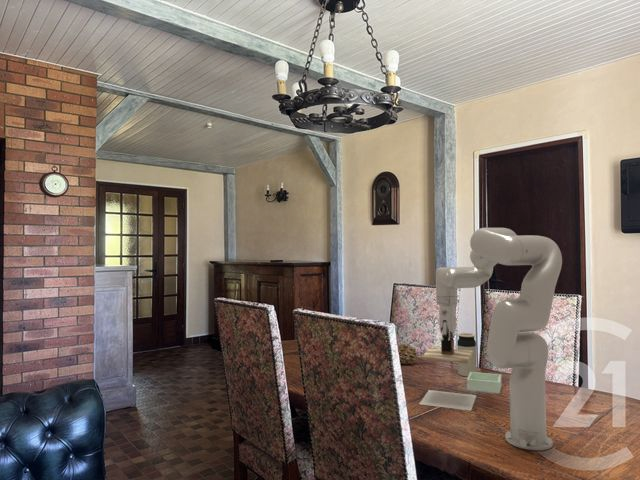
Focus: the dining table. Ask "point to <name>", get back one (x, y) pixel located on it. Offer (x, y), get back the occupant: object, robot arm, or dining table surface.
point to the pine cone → (407, 354)
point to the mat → (448, 400)
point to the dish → (484, 382)
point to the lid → (448, 354)
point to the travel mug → (468, 343)
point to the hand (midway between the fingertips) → (447, 349)
